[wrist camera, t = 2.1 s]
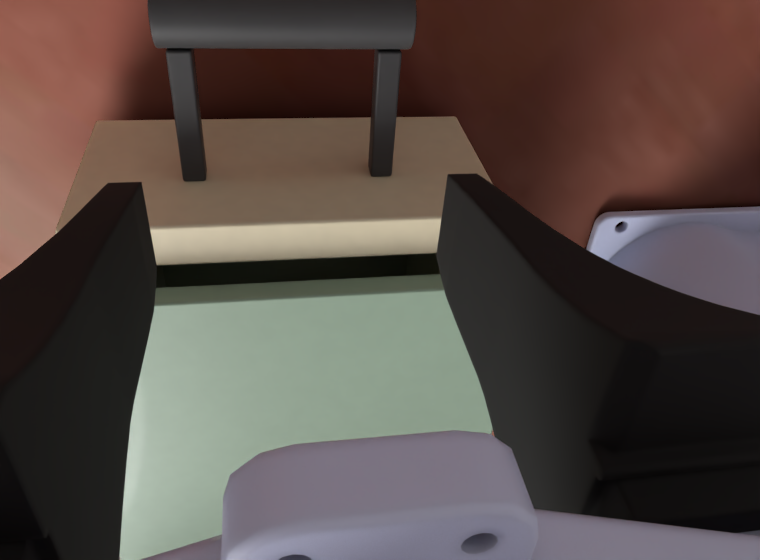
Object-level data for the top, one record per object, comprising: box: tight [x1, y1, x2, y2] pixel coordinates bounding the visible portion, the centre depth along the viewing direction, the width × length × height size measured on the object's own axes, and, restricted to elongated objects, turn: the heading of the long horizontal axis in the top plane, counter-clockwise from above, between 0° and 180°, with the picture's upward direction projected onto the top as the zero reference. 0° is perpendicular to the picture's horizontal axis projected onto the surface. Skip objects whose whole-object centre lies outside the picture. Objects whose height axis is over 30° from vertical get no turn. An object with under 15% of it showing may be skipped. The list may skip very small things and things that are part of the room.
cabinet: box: [120, 274, 493, 560], centre depth 24 cm, size 13×12×8 cm
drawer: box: [55, 0, 493, 288], centre depth 21 cm, size 17×11×6 cm, turn 176°
